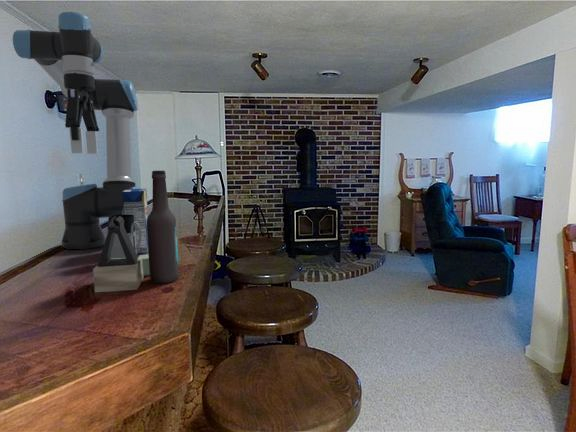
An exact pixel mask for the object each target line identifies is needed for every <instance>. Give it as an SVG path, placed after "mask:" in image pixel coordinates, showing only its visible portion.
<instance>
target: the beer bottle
mask: <svg viewBox="0 0 576 432" xmlns="http://www.w3.org/2000/svg"><path fill="white" fill-rule="evenodd" d="M151 179H152V209H151V211H150V213H148V218H147V238H148V253H147V254H148V255H149V272H150V275H149V279H150V282H152V283H153V284H169V283H172V282H175V281H177V280H178V279H179V257H178V256H179V253H178V252H179V251H178V234H177V233H178V232H177V231H178V230H177V221H176V217H175V214H174V213H173V212H172V211H171V210H170V207H169V199H168V197H169V196H168V190H167V182H166V179H167V175H166V171H165V170H152V171H151Z"/></svg>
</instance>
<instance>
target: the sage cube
mask: <svg viewBox="0 0 576 432" xmlns="http://www.w3.org/2000/svg"><path fill="white" fill-rule="evenodd" d="M138 257H142V261H143V277H144V276H150V272H149V255H148V253H147V254H138Z"/></svg>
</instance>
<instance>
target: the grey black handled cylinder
mask: <svg viewBox="0 0 576 432" xmlns="http://www.w3.org/2000/svg"><path fill="white" fill-rule="evenodd" d="M115 216H116V218H115V219H117V218H118V217H119V216H121V217H122V218H123V219H124V228H125V230H126V232H127V234H128V236H129V238H130V241H131V243H132V245H133V247H134V249H135V251H136V253H137V248H138V247H139V245H140V242H141V227H140V225H139V223H137V222H134V215H129V214H124V215H113V216H109V217H108V218H107V219H108V222H109V221H110V220H111V219H112V218H114V217H115ZM115 219H114V220H113V223H114V225H116V227H117V226H118V227H119V224H118V222H117V221H115ZM134 224H137V226H138V228H139V240H138V244H137V246H136V231H135V225H134ZM113 258H126V257H125V254H124V251H123V249H122V246H121V243H120V240H119V238H118V235H117V234H116V233H115V238H114V242H113V247H112V252H111V257H110V259H113Z"/></svg>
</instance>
